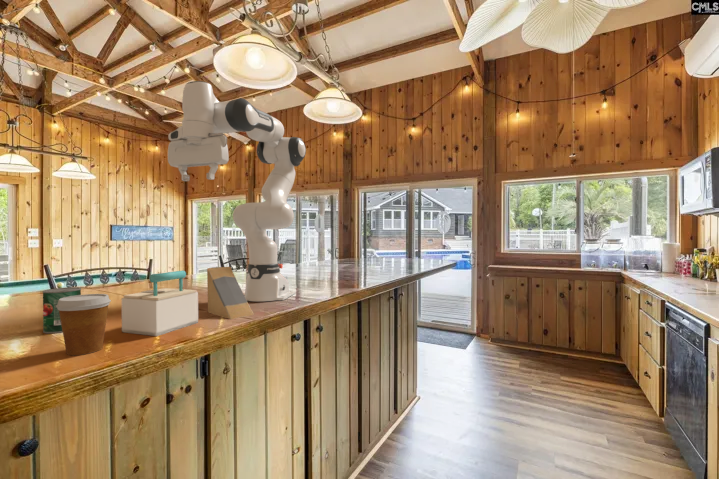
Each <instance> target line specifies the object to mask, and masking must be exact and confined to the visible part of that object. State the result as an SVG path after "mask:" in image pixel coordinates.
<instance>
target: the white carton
mask: <svg viewBox="0 0 719 479" xmlns="http://www.w3.org/2000/svg"><path fill="white" fill-rule="evenodd" d="M198 323H199V292H198V291H197V292H195V293H191V294H186V295H181V296H176V297H172V298H167V299H162V300H147V299H142V298H141V299H134V298H123V297H122V298H121V333H126V334H127V333H128V334H133V335H134V334H135V335H143V336H150V337H151V336H153V337H159V336H162V335H165V334H168V333H171V332H174V331H177V330H180V329H184V328H186V327H189V326H192V325H195V324H198Z"/></svg>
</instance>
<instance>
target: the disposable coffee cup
mask: <svg viewBox="0 0 719 479" xmlns="http://www.w3.org/2000/svg"><path fill="white" fill-rule="evenodd" d="M111 301H112V300H111V299H110V296H109V294H106V293H88V294H87V293H86V294H81V295H76V296H69V297H64V298H61V299H59V301H58V304H57V305H56V307H57V309H58V310H59V314H60V320H61V325H62V331H63V332H62V337H63V341H64V346H65V354H66V355H68V356H82V355H88V354H92V353H93V354H94V353H95V352H98V351H100V350H102V349H103V346H104V339H105V333H106V332H105V331H106V325H107V318H108V310H109V305H111V304H110V303H111Z"/></svg>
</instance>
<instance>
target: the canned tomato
mask: <svg viewBox="0 0 719 479" xmlns="http://www.w3.org/2000/svg"><path fill="white" fill-rule="evenodd" d="M81 290H82V287H78V286H75V287H72V286H70V287H69V286H68V287H57V288H50V289H44V290H42V333H44V334H60V333H62V334H63V331H62V325H61V320H60V314H59V310H58V309H57V307H56V305H57V304H58V301H59V299H61V298H64V297H69V296H76V295H82V293H81Z"/></svg>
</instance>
